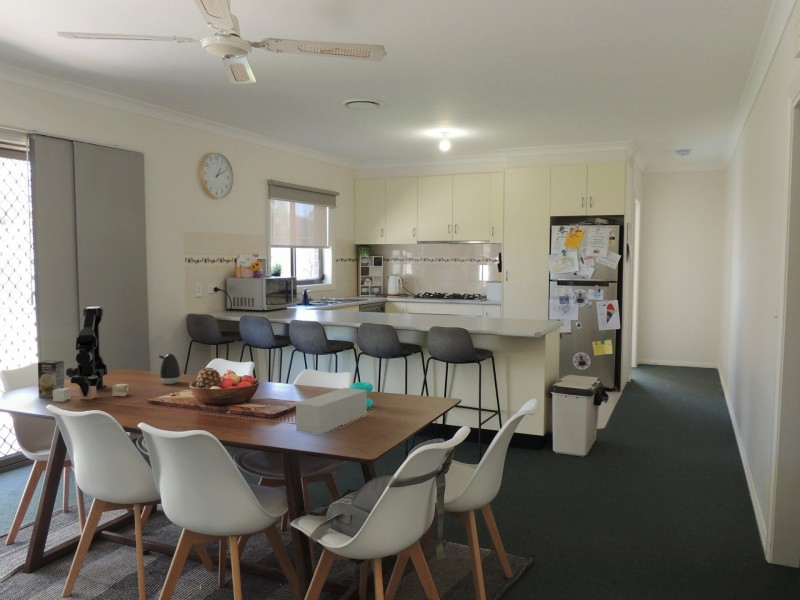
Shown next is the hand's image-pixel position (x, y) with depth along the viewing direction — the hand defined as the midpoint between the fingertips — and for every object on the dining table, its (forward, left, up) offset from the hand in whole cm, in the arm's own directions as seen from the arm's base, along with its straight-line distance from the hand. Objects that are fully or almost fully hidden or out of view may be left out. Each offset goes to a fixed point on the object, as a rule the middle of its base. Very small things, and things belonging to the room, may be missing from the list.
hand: (88, 395), depth 287 cm
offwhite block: (+4, -10, -2) cm, 11 cm away
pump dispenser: (-35, +24, -2) cm, 42 cm away
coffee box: (-4, -19, -2) cm, 19 cm away
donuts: (+13, +125, -2) cm, 126 cm away
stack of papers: (+40, +116, -2) cm, 123 cm away
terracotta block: (0, 0, -1) cm, 1 cm away
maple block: (-6, +12, -2) cm, 14 cm away
